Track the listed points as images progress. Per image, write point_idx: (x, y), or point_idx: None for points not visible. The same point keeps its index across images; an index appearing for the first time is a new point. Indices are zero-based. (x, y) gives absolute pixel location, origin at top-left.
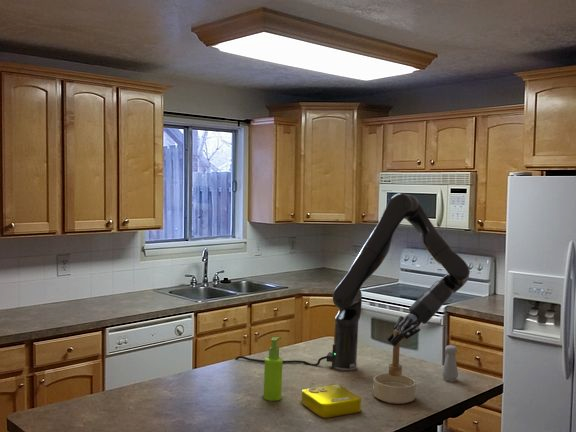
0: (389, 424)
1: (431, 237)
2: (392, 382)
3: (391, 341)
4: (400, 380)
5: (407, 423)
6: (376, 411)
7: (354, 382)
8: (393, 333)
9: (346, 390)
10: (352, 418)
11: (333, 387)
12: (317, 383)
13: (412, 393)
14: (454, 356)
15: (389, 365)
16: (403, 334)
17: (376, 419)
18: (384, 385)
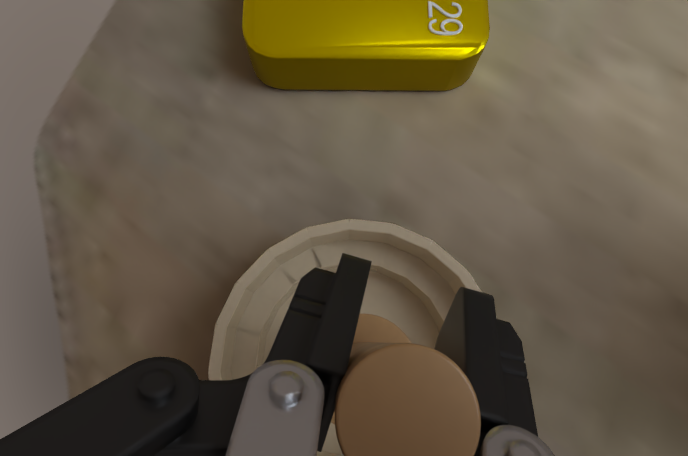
0: (82, 118)
1: None
2: None
3: (341, 259)
4: None
5: (48, 200)
6: (231, 153)
7: (638, 290)
8: (475, 384)
9: (378, 39)
10: (212, 12)
11: (444, 2)
12: (671, 94)
13: None
14: None
15: (385, 322)
16: (135, 380)
17: (154, 98)
18: (298, 231)
